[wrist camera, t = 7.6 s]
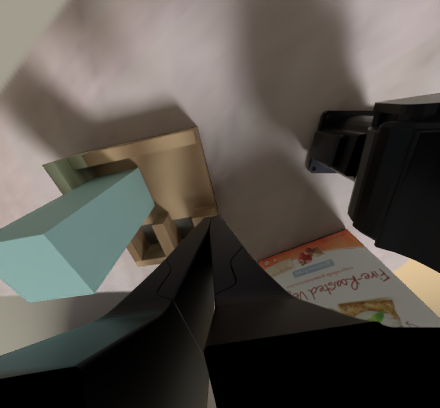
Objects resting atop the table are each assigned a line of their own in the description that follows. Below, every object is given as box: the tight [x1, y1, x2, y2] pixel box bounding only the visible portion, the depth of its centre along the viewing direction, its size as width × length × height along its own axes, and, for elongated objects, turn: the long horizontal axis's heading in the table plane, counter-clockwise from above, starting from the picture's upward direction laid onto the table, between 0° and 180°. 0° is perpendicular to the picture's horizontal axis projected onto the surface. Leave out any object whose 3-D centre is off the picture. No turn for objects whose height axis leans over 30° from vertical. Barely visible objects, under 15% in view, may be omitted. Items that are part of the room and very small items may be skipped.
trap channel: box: [42, 127, 217, 267], centre depth 21 cm, size 14×15×5 cm
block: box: [0, 168, 155, 302], centre depth 16 cm, size 5×5×12 cm
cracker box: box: [258, 229, 440, 327], centre depth 19 cm, size 14×6×21 cm, turn 119°
